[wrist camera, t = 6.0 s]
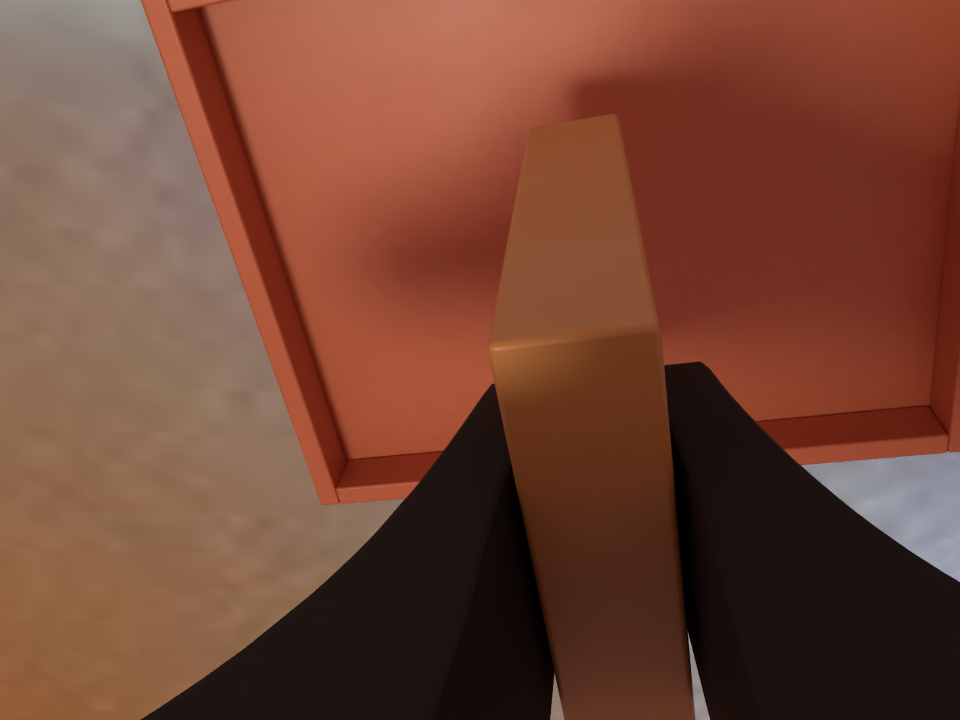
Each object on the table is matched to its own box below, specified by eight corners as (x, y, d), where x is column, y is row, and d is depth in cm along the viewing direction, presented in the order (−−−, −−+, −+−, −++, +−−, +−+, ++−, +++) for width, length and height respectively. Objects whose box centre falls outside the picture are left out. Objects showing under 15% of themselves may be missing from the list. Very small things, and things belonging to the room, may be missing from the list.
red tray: (1003, -198, 13) (1059, -209, 12) (940, 406, 19) (972, 451, 18) (177, -21, 16) (135, -12, 15) (339, 462, 22) (321, 506, 20)
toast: (617, 111, 12) (660, 324, 6) (651, 433, 15) (701, 790, 9) (526, 126, 13) (484, 345, 7) (576, 440, 15) (578, 793, 9)
